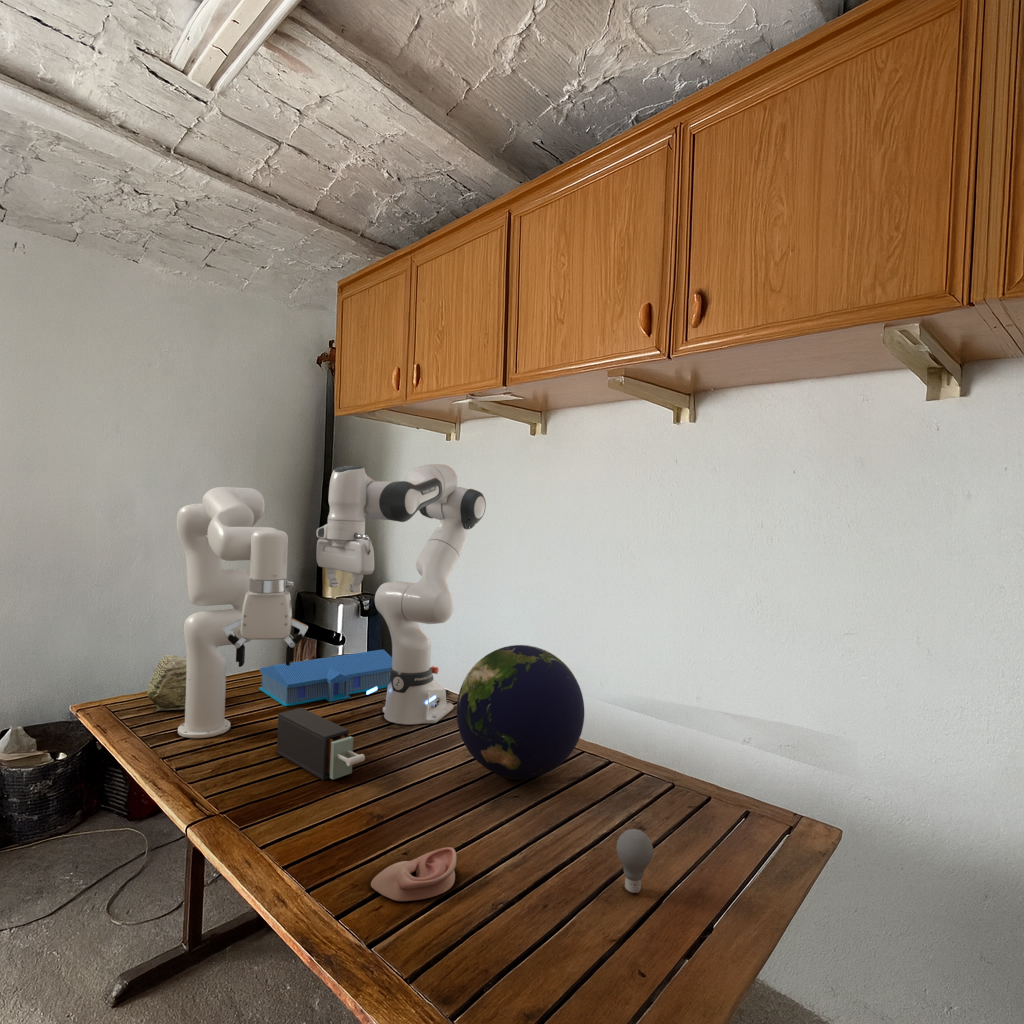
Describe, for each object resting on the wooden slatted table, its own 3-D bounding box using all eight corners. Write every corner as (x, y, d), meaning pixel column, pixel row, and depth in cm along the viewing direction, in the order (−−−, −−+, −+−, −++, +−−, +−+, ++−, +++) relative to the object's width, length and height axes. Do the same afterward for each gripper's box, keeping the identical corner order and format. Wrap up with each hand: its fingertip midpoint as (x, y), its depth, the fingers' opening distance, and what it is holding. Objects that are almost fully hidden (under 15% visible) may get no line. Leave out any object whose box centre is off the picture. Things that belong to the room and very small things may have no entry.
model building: (289, 709, 186) (291, 675, 185) (258, 688, 204) (259, 657, 204) (403, 687, 212) (405, 657, 212) (366, 670, 230) (368, 643, 230)
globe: (430, 785, 141) (436, 651, 140) (486, 740, 168) (491, 628, 168) (558, 816, 130) (565, 670, 129) (595, 762, 157) (601, 642, 157)
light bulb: (610, 879, 108) (613, 822, 108) (644, 879, 109) (647, 822, 109) (619, 902, 102) (622, 840, 102) (655, 901, 103) (658, 840, 103)
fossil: (144, 707, 182) (145, 655, 182) (212, 696, 194) (213, 647, 194) (151, 716, 175) (153, 662, 175) (221, 703, 188) (223, 653, 188)
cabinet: (347, 772, 146) (348, 729, 146) (323, 780, 141) (324, 736, 141) (299, 746, 160) (301, 707, 159) (276, 753, 155) (278, 713, 155)
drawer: (366, 780, 140) (367, 744, 140) (346, 788, 136) (348, 750, 136) (306, 748, 157) (307, 715, 157) (287, 753, 153) (288, 720, 153)
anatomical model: (363, 870, 101) (391, 834, 112) (362, 895, 101) (390, 856, 113) (442, 884, 99) (463, 845, 110) (441, 909, 99) (462, 868, 110)
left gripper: (310, 584, 144) (307, 659, 144) (228, 583, 139) (225, 661, 140) (308, 589, 136) (305, 668, 137) (221, 588, 132) (218, 670, 132)
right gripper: (382, 535, 148) (379, 594, 148) (335, 529, 162) (332, 583, 162) (359, 535, 144) (356, 596, 144) (312, 529, 158) (310, 585, 158)
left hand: (265, 664), depth 138 cm, fingers open, 9 cm apart
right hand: (343, 589), depth 153 cm, fingers open, 8 cm apart
